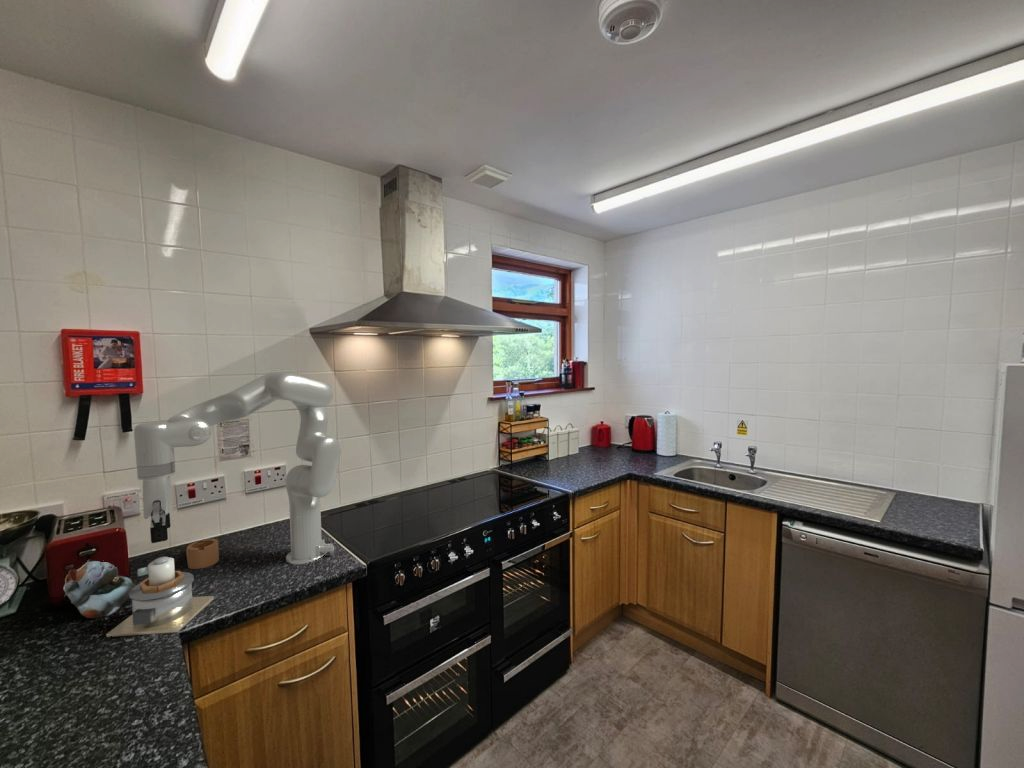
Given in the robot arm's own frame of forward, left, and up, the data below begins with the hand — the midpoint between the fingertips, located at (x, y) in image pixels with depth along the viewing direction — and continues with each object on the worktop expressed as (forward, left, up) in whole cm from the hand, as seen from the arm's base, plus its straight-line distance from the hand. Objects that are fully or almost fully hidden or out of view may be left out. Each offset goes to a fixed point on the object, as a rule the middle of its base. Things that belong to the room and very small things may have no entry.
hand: (161, 534), depth 110 cm
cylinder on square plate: (0, 0, -22) cm, 22 cm away
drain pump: (0, 0, -13) cm, 13 cm away
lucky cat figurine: (+20, -6, -23) cm, 31 cm away
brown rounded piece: (+11, -35, -23) cm, 43 cm away
